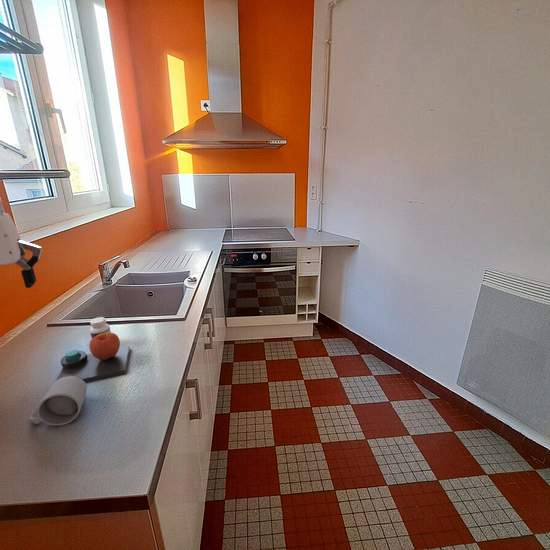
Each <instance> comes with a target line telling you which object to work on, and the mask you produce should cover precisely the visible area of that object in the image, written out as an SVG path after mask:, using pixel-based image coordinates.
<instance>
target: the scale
mask: <svg viewBox="0 0 550 550" xmlns="http://www.w3.org/2000/svg"><path fill="white" fill-rule="evenodd" d="M78 351H79V354H80V358H78V359H76V360H74V361H67V358H66V355H64V356H62V358H61V359H60V365H61V367H62V369H61V370H60V372H59V374H58V376H57V379H56V380H55V382H56V381H57V380H59V379H60V378H63V377H66V376H76V377H79V378H81V379H82V380H83V381H84V382H85V383H86V384H87V383H90V382H91V383H92V382H94V381H99V380H105V379H108V378H114V377H118V376H123V375H126V374H127V368H128V363H129V358H130V353H131V348H130V346H125V347H119V350H118V352H117V354H116V355H115V356H114V357H111V358H109V359H106V360H100V359H98V358H96V357H95V356H94V355H93V354H92V353H86V351H82V350H78Z"/></svg>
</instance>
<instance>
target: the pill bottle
mask: <svg viewBox="0 0 550 550" xmlns="http://www.w3.org/2000/svg"><path fill="white" fill-rule="evenodd" d="M106 332H111V333H112V331H111V328H110V325H109V324H108V323H107V320H106V318H105V317H104V316H98V317H95V318H92V319H91V320H90V328H89V333H90V338H91V340H92V339H93V338H94V337H95V336H97V335H99V334H102V333H106Z"/></svg>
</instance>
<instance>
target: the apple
mask: <svg viewBox="0 0 550 550" xmlns="http://www.w3.org/2000/svg"><path fill="white" fill-rule="evenodd" d="M88 345H89V346H88V347H89V351H90V354H93V355H94V356H95V357H96V358H98V359H100V360H106V359H109V358H111V357H114V356H115V355H116V354H117V352H118V350H119V348H121V347H120V346H121V340H120V338H119V336H118V335H117V334H116V333H114V332H112V331H111V332H106V333H102V334H99V335H97V336H95V337H94V338H93V339H92V338H91V339H90V341H89V344H88Z"/></svg>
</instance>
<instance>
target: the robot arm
mask: <svg viewBox="0 0 550 550" xmlns="http://www.w3.org/2000/svg"><path fill="white" fill-rule="evenodd" d="M26 251H29V252H31V253H32V255H31V257H30V259H29V257H27V256H26ZM43 251H44V248H43V246H40V245H37V244H33V243H32V242H31V243H30V242H27V241H25V240H22V237H21V235H20V233H19V231H18V228H17V225H16V224H15V222H14V220H13V219H12V217H11V215H10V214H9V213H8V212H7V213H6V212H5V209H4V205H3V203H2V199H1V198H0V266H2V265H3V266H5V265H12V264H15V265H17V266H18V267H20V268H21V269H22V270H21V276H22V279H23V283H24V286H25V288H27V289H30V288H32V287H33V286H34V285H35V283H36V282H37V277H36V273H35V270H34V267H35V265H36V264H37V263H38V262H39V261H40V259H41V256H42V254H43Z"/></svg>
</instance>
